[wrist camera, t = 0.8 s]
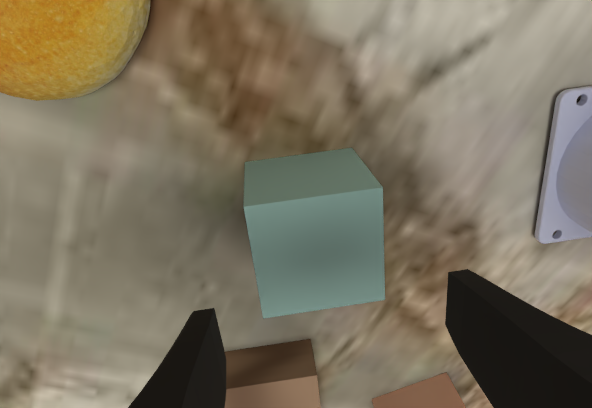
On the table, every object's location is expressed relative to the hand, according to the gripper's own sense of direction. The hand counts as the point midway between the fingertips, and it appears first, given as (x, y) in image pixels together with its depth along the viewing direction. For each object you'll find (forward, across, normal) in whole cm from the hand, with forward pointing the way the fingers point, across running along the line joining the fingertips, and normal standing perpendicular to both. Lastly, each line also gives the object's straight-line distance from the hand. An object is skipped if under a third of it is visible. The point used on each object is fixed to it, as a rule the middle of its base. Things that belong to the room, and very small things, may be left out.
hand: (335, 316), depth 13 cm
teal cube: (+8, 0, 0) cm, 8 cm away
